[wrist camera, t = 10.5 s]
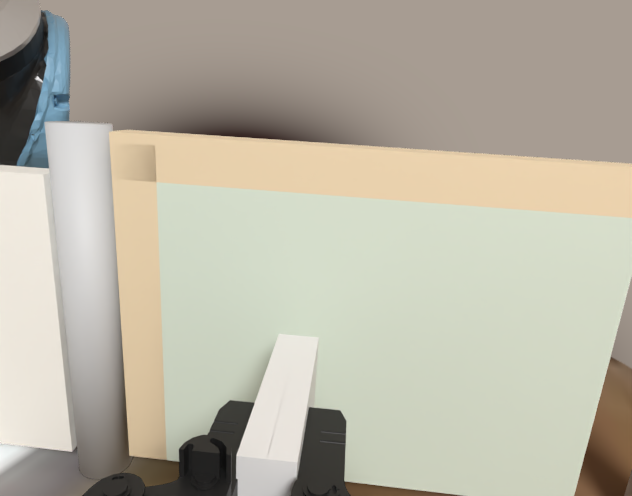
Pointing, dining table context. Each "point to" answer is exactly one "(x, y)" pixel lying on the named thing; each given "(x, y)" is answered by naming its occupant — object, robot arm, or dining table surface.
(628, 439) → the dining table surface
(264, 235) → the gate
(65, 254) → the fence
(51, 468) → the dining table surface
